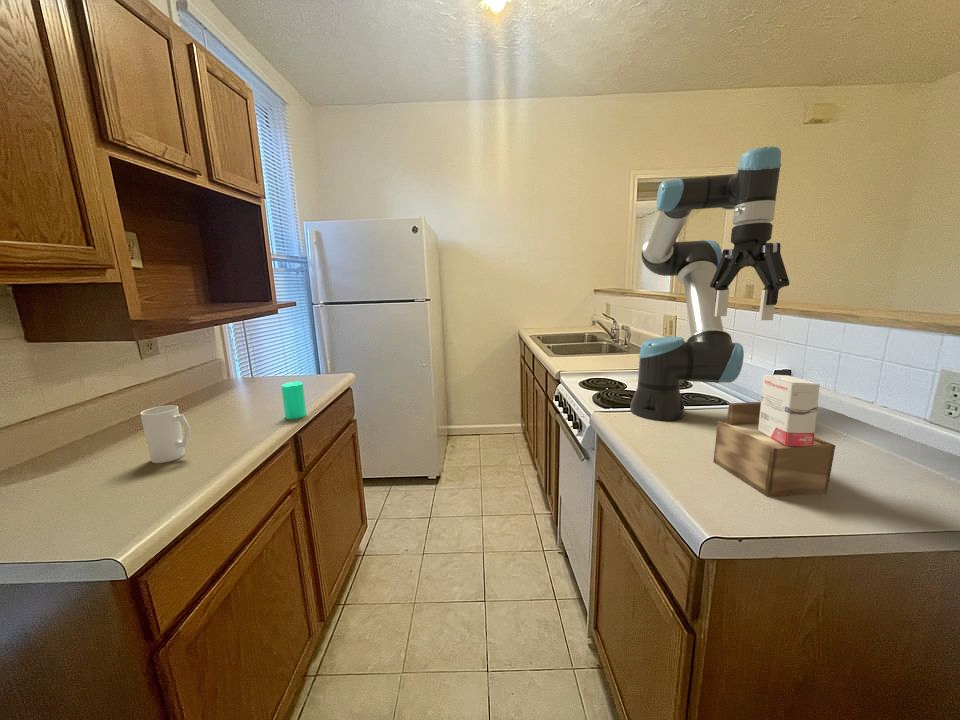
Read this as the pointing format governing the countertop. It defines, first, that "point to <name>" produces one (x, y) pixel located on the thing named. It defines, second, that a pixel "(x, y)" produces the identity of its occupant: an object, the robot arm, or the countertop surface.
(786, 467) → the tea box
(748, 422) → the lid
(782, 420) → the ink box
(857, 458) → the countertop surface
